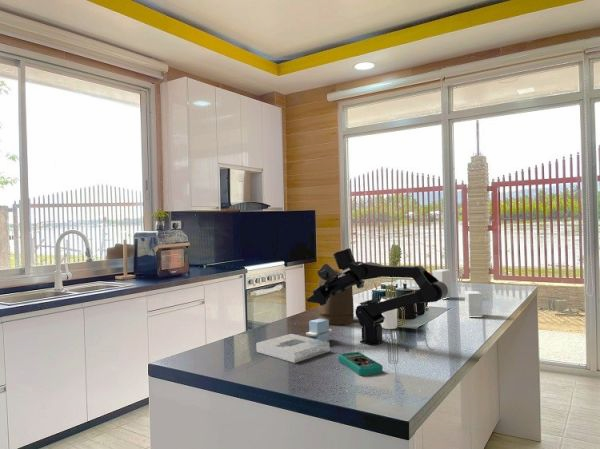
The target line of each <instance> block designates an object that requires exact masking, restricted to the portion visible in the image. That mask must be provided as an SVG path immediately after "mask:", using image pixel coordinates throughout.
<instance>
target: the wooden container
mask: <svg viewBox="0 0 600 449" xmlns="http://www.w3.org/2000/svg"><path fill="white" fill-rule="evenodd" d="M333 270H334V271H335V272H338V273H340V271H339V270H338V269H333ZM325 281H326V280H323V279H321V278H320V277H319V279H318V281H317V283H318V287H319V286H322V285H324V284H325V283H324V282H325ZM353 292H354V291H353V286H352V287H349V288H347V289H346V290H345V291H343V292H342V291H341V292H338V293H337V294H336V295H334V296H333V295H332V293H331V294H330V295H329V296H330V300H329V301H328V302H327V303H326V304H325V305H323V306H321V305H320V304H318V319H320V318H322V319H327V320H329V326H330V325H332V326H337V325H338V326H342V325H348V324H352V323H354V321H355V318H354V317H355V316H354V294H353Z"/></svg>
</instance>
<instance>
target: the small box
mask: <svg viewBox="0 0 600 449" xmlns="http://www.w3.org/2000/svg"><path fill="white" fill-rule="evenodd" d="M464 304H465V305H464V309H465V310H464V311H465V312H466V313H467V314H468V315H469V316H483V317H484V315H483V294H482V293H481V292H480V291H478V290H465V291H464ZM465 312H464V313H465Z"/></svg>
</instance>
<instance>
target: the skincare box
mask: <svg viewBox="0 0 600 449" xmlns="http://www.w3.org/2000/svg"><path fill="white" fill-rule="evenodd" d="M431 272H432V273H431V274H432V275H433V276H434V277H435V278H437V279H438V280H439V281H441V282H443V283H444V284H445V285H446V286H447V288H448V294H447V296H446V297H450V296H451V297H452V290H451V288H452V286H451V285H452V284H451V280H452V279H451V269H444V268H440V269H439V268H438V269H435V270H434V269H433V270H432V271H431ZM446 297H445V298H446Z"/></svg>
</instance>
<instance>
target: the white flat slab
mask: <svg viewBox="0 0 600 449" xmlns="http://www.w3.org/2000/svg"><path fill="white" fill-rule="evenodd" d="M308 337H309V336H304V335H300V334H294V333H289V334H286V335H285V334H284V335H281V336H278V337H273V338H270V339H265V340H262V341H258V342H256V344H255V346H256V353H258V354H263V355H265V356H270V357H273V358H276V359H279V360H282V361H287V362H290V363H292V364H293V363H294V364H296V363H298V362H302V361H305V360H308V359H311V358H314V357H316V356H317V357H318V356H320V355H323V354H327V353H329V352H330V348H331V347H330V345H331V344H330V341H327V342H326V341H322V340H317V339H313V338H308Z"/></svg>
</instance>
